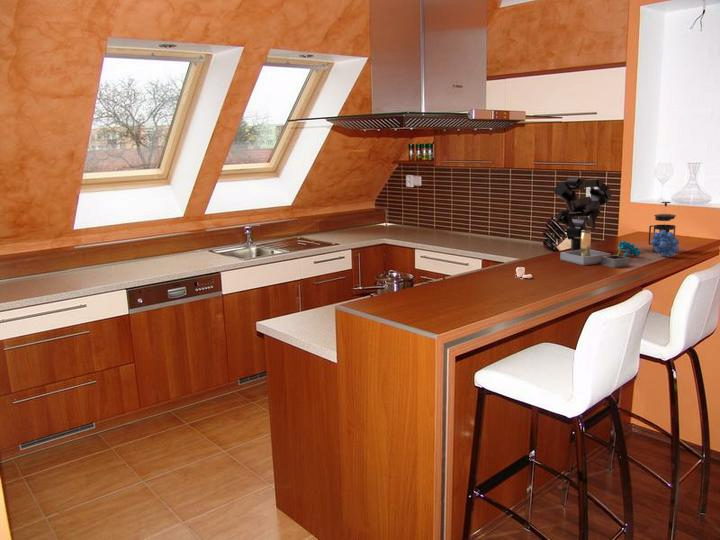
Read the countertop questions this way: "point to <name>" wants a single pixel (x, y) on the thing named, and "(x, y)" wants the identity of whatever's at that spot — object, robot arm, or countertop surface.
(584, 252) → the capped labeled canister
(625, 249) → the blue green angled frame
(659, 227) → the french press
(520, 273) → the teacup and saucer
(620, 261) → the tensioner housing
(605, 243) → the countertop surface
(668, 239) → the grapes
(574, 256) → the tray
